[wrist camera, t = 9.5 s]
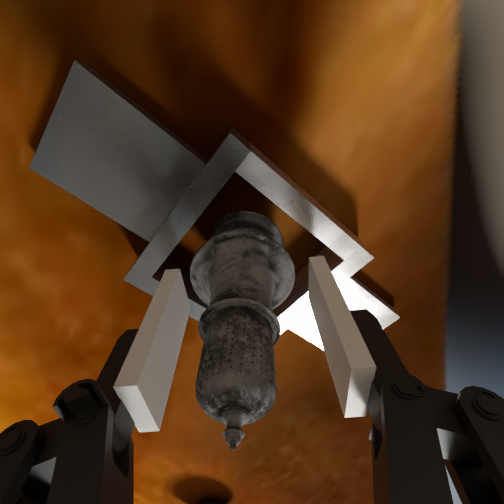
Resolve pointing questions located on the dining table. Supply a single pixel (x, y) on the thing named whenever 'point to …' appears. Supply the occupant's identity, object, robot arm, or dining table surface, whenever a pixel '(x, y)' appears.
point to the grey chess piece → (240, 318)
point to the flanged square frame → (182, 192)
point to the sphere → (212, 502)
